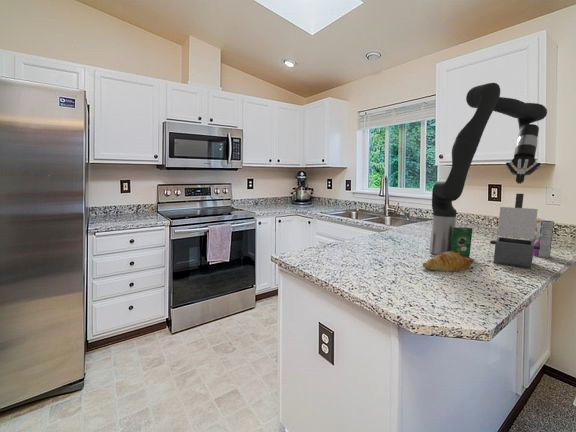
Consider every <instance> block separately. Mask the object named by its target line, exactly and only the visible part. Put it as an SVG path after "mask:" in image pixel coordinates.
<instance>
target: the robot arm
mask: <svg viewBox="0 0 576 432" xmlns="http://www.w3.org/2000/svg"><path fill="white" fill-rule="evenodd" d="M465 101H466V103H467V105H468V106H469V107H470V108H472V109H473V108H474V109H476V110H475V112H474V113H473V116H472V117H471V118H470V119H469V120H468V121H467V123H465V125H464V126H462V128H461V129H460V130H459V131H458V133H457V135H456V137H455V139H454V142H453V145H452V148H451V163H452V164H451V167H450V171H449V173H448V176H447V177H446V179H439V180H437V181H436V182H434V185H433V187H432V191H431V192H432V193H431V210H432V212H433V213H432V215H433V216H432V227H431V231H430V239H429V240H430V241H429V242H430V243H429V252H430V254H432V255H433V254H434V255H439V254H441V253H443V252H448V251H451V245H452V235H453V227H456V222H457V214H458V213H457V212H458V211H457V209H456V208H455V207H454V206H453V202H455V201H457V200H458V199H460V197H461V195H462V194H463V192H464V189H465V183H466V181H467V177H468V173H469V171H470V167H471V165H472V162H473V159H474V156H475V154H476V153H477V150H478V147H479V145H480V142H481V140H482V139H481V138H482V137H483V134H484V131H485V129H486V127H487V125H488V122H489V119H490V118H491V116H492V114H493V112H495V113H500V114H502V115H506V116H508V117H512V118H514V119H516V120H517V123H518V129H519V130H518V138H517V140H516V144H515V148H514V153H513V154H514V155H513V158H512V159H511V161H509V162H506V163H505V167H506V169H507V170H509V172H510V173H511V174H512V175H515V176H516V177H515V183H517V185H518V184H519V185H521V184H522V183H524V182H525V177H526V176H531V175H532V174H533V173H534V172H535V171H537V170H538V169H540V167H541V162H538V161H536V158H535V157H536V153H537V148H538V137H539V130H540V128H539V126H538V125H536V124H534V123H536V122H538V121H543V120H544V119H545V118H546V116H547V114H548V109H547V108H546V106H545V105H543V104H540V103H535V102H524V101H521V100H519V99H516V98H513V97H502V96H501V86H500V84H498V83H496V82H489V83H485V84H484V83H483V84H480V85H477V86H473V87H472V88H471V89H469V91H467V93H466V95H465ZM513 166H514V167H515V168H516V169H517V170H515V168H514V167H513ZM527 169H528V170H527Z"/></svg>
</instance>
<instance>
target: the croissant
mask: <svg viewBox="0 0 576 432" xmlns="http://www.w3.org/2000/svg"><path fill="white" fill-rule="evenodd" d="M473 262H474V260H473V259H471V258H469V257H463V256H461V255H459V254H458V253H456V252H452V251H448V252H443V253H441V254H439V255H438V254H436V255H435V256H433V258H429V259H428V260H426V261H425V262H423V263H422V267H423V268H424V269H426V270H432V271H437V272H446V271H448V272H449V271H450V273H452V272H459V271H462V270H464V269H467V268H469V267H470V266H471V265H472V264H473Z"/></svg>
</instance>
